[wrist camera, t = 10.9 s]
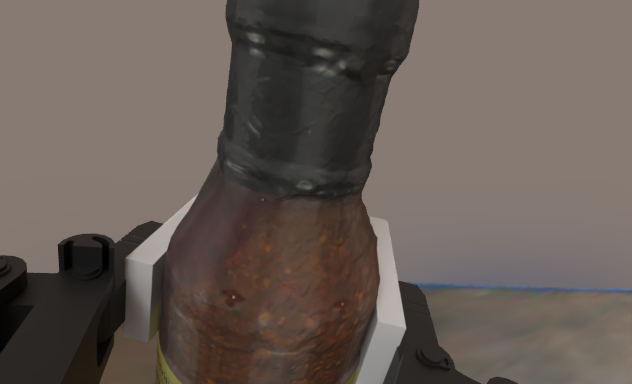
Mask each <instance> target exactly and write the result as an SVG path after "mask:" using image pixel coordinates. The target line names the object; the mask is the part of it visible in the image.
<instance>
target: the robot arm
mask: <svg viewBox="0 0 632 384" xmlns="http://www.w3.org/2000/svg"><path fill="white" fill-rule="evenodd" d="M198 194H199V193H198ZM198 194H197V195H198ZM197 195H196V196H195V197H194V198H193V199H191V200H190V202H188V203H187V204H186V205H185V206H184V207H182V208H181V209H180V210H179V211H178V212H177V213H176V214H175V215H173V217H171V218H170V219H169V220H168V221H167V222H166V223H164V224H162V223H158V222H154V221H150V222H147V223H144V224H142V225H139V226H137V227H136V228H134V229H133V230H132V231H131V232H129V234H128V235H126V236H124V237H123V238H122V239H121V241H118V242H117V243H114V241H113V240H112V239H111V238H109V237H107V236H105V235H99V234H81V235H76V236H72V237H69V238H67V239H65V240H63V241H62V242H60V243H59V244H58V255H59V272H58V273H53V274H52V273H27V266H26V263H25V262H24V260H23V259H20V258H18V257H15V256H5V255H3V256H0V384H99V382H100V379H101V377H102V374H103V372H104V369H105V366H106V364H107V361H108V358H109V356H110V353H111V351H112V348H113V344H114V332H115V331H116V330H117V329H118V328H119V327H120V326H121V324H122V323H123V322H124V332H123V337H127V338H131V339H135V340H139V341H143V342H147V343H149V341H150V340H151V339H152V337H153V336H154V334H155V333H156V332H157V330H158V329H159V319H160V310H161V300H162V291H163V281H164V272H165V262H166V252H167V249H168V245H169V242H170V239H171V236H172V235H173V233H174V231H175V229H176V227H177V226H178V224H179V223H180V222H181V220H182V219H183V217H184V216H185V215H186V213H187V212H188V210H189V209H190V207H191V206H192V204H193V202H194V201H195V199H196V197H197ZM369 219H370V223H371V225H372V226H373V230H374V233H375V235H376V236H377V238H378V240H377V254H378V264H379V274H380V284H379V288H378V297H377V301H376V304H375V307H374V309H373V312H372V315H371V318H370V320H369V324H368V327H367V330H366V334H365V336H364V340H363V342H362V345H361V352H360V363H359V366H358V369H357V372H356V375H355V378H354V381H353V384H481V383H479V382H477V381H475V380H473V379H471V378H469V377H467V376H465V375H463V374H462V373H460V372H458V371H457V370H456V369H455V366H454V362H453V360H452V359H451V357H450V355H449V354H448V353H447V352H446V351H445V350H444V349H443V348H441V347H440V346H439V345H438V341H437V338H436V334H435V330H434V327H433V323H432V319H431V317H430V312H429V308H428V305H427V301H426V298H425V295H424V294H423V293H422V291H421V290H420V289H419V287H418V286H417V285H414V284H410V283H405V282H401V281H398V278H397V273H396V267H395V261H394V255H393V250H392V244H391V238H390V233H389V227H388V221H387V220H383V219H379V218H375V217H370V218H369ZM487 384H518V383H516V382H514V381H511V380H509V379H507V378H501V377H495V378H491V379H490V380H489V381H488V383H487Z"/></svg>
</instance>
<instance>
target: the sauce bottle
mask: <svg viewBox="0 0 632 384" xmlns="http://www.w3.org/2000/svg"><path fill="white" fill-rule="evenodd" d="M418 8H419V0H227V4H226V21H227V27H228V32H229V35H230V38H231V41H232V53H231V63H230V71H229V80H228V81H229V82H228V89H227V97H226V111H225V115H224V127H223V130H222V131H221V133H220V135H219V137H218V146H217V153H218V157H217V160H216V162H215V164H214V166H213V168H212V169H211V172H210V173H209V175H208V177H207V179H206V181H205V183H204V185H203V186H202V188H201V190H200V192H199V194H198V195H197V197H196V199H195V201H194V202H193V204H192V206H191V207H190V209H189V210H188V212H187V213H186V215H185V216H184V217H183V219H182V220H181V222H180V223H179V224H178V226H177V227H176V229H175V231H174V233H173V235H172V236H171V239H170V242H169V245H168V249H167V252H166V262H165V272H164V281H163V291H162V300H161V310H160V319H159V334H158V350H157V367H156V384H353V381H354V378H355V375H356V372H357V369H358V366H359V363H360V352H361V345H362V342H363V340H364V336H365V334H366V330H367V327H368V324H369V320H370V318H371V315H372V312H373V309H374V307H375V304H376V301H377V297H378V288H379V284H380V274H379V264H378V254H377V240H378V238H377V236H376V235H375V233H374V230H373V226H372V225H371V223H370V219H369V217H368V215H367V211H366V207H365V205H364V203H363V202H362V198H361V194H362V190H363V188H364V186H365V183H366V181H367V179H368V177H369V174H370V170H371V168H372V164H371V159H370V156H371V154H372V151H373V143H374V140H375V136H376V133H377V131H378V128H379V125H380V117H381V113H382V109H383V106H384V103H385V98H386V95H387V92H388V86H389V84H390V81H391V78H392V76H393V75H394V73H395V72H396V71H397V69H398V67H399V66H400V65H401V63H402V62H403V61H404V59H405V58H406V57H407V55H408V53H409V48H410V43H411V39H412V35H413V31H414V25H415V22H416V19H417V14H418Z"/></svg>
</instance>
